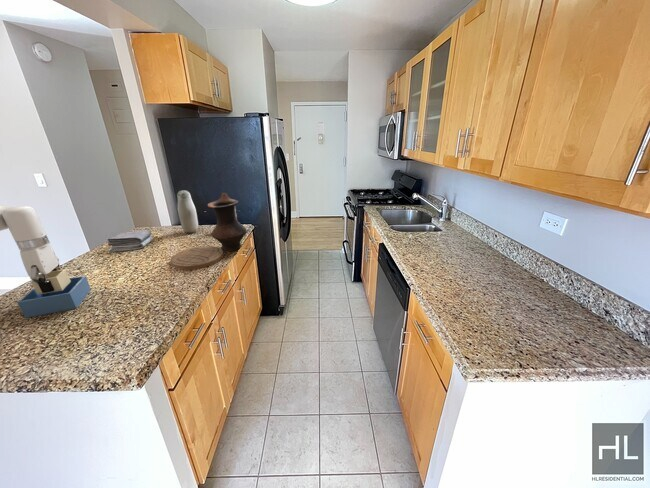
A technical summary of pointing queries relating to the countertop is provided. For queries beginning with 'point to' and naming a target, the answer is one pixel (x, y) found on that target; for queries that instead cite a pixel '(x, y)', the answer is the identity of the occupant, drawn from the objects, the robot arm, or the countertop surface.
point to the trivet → (196, 257)
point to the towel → (129, 241)
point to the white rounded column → (187, 212)
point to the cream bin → (54, 281)
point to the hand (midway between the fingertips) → (54, 286)
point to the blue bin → (55, 299)
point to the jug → (227, 223)
